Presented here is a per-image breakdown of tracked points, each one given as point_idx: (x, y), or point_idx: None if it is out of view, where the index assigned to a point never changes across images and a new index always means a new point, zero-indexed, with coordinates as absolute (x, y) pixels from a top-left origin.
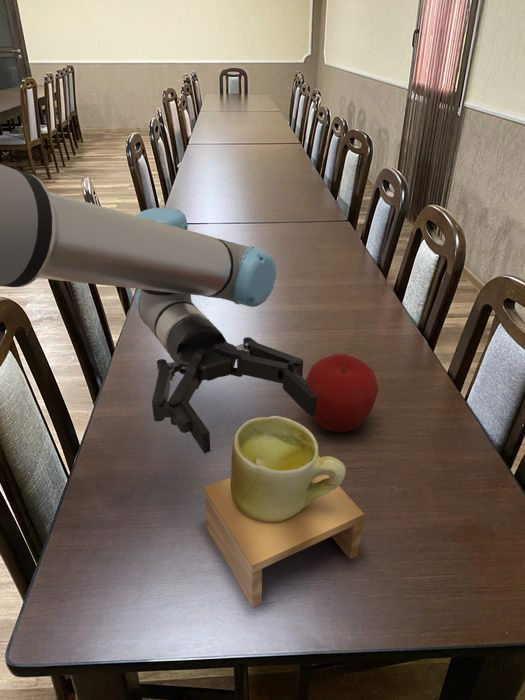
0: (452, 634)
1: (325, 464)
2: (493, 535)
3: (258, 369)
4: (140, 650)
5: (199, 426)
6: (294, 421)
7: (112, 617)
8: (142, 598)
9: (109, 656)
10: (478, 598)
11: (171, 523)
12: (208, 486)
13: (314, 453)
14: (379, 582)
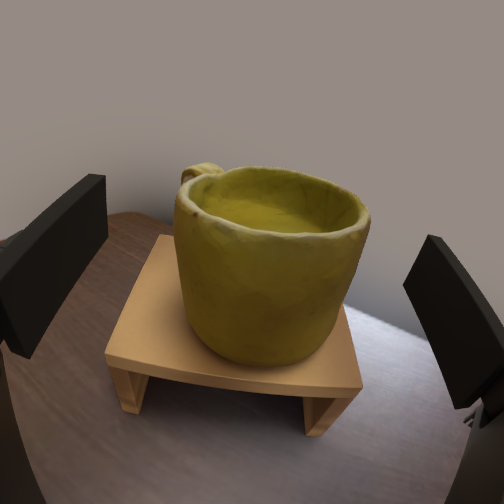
0: (165, 228)
1: (217, 167)
2: None
3: (11, 469)
4: (412, 339)
5: (451, 255)
6: (188, 202)
7: (436, 374)
8: (412, 380)
9: None
10: (120, 228)
11: (368, 467)
12: (355, 384)
13: (213, 179)
14: None
